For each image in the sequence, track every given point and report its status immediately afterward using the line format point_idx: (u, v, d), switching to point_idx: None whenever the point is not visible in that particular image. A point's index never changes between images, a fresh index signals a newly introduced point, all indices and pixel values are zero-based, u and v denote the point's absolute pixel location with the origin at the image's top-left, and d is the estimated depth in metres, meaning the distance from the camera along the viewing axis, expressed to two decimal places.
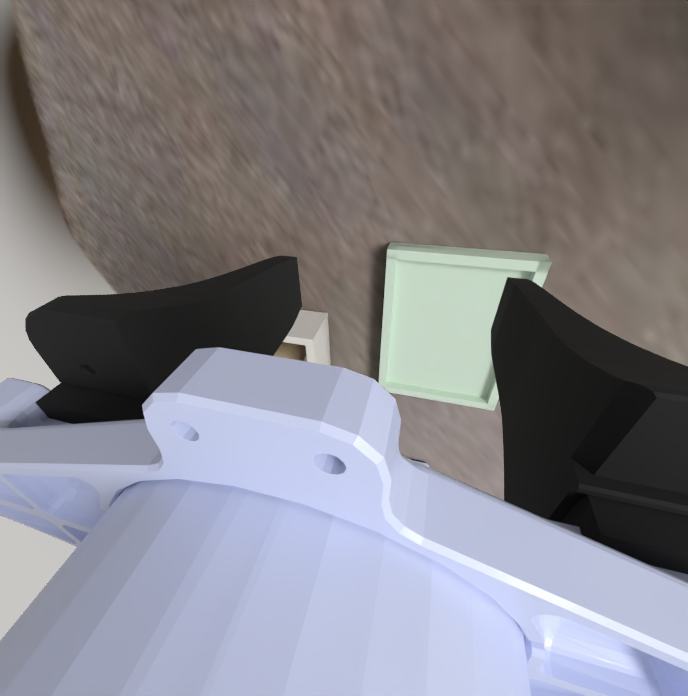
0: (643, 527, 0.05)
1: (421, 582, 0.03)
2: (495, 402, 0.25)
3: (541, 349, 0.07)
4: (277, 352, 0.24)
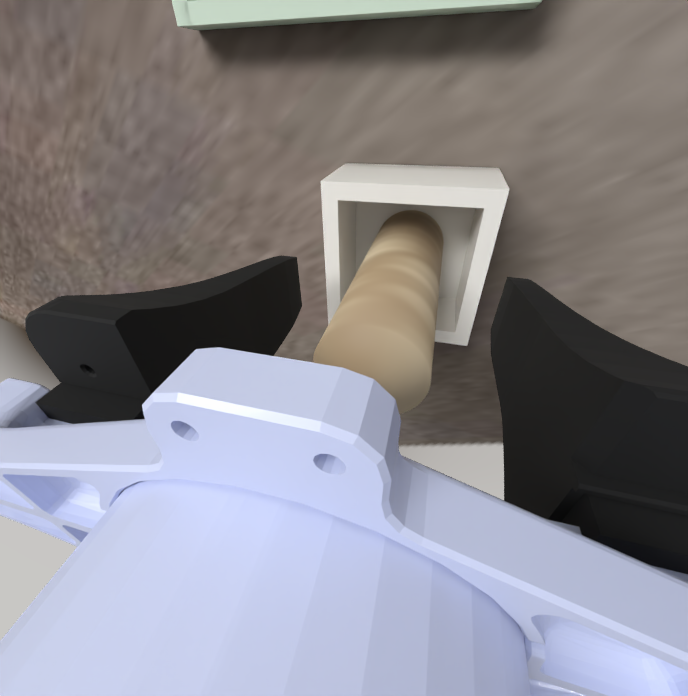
0: (643, 527, 0.05)
1: (421, 582, 0.03)
2: None
3: (541, 349, 0.07)
4: None
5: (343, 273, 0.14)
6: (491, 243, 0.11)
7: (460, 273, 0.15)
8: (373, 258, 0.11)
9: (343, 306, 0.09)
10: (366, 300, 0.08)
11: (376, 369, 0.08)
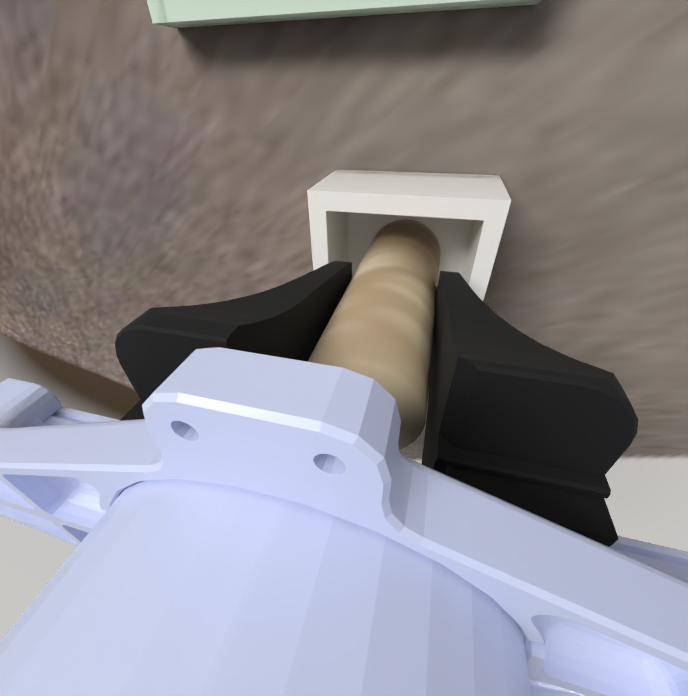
0: (488, 492, 0.05)
1: (421, 582, 0.03)
2: None
3: (444, 336, 0.08)
4: None
5: None
6: (491, 257, 0.11)
7: None
8: (363, 275, 0.10)
9: (328, 332, 0.08)
10: (353, 326, 0.08)
11: None
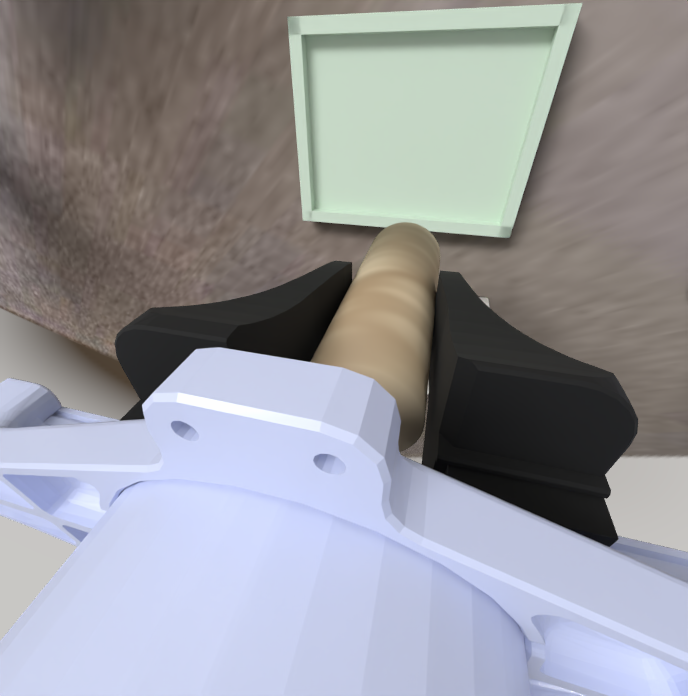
0: (488, 492, 0.05)
1: (421, 582, 0.03)
2: (556, 8, 0.13)
3: (444, 336, 0.08)
4: None
5: None
6: None
7: None
8: (362, 279, 0.10)
9: (327, 337, 0.08)
10: (350, 331, 0.08)
11: None
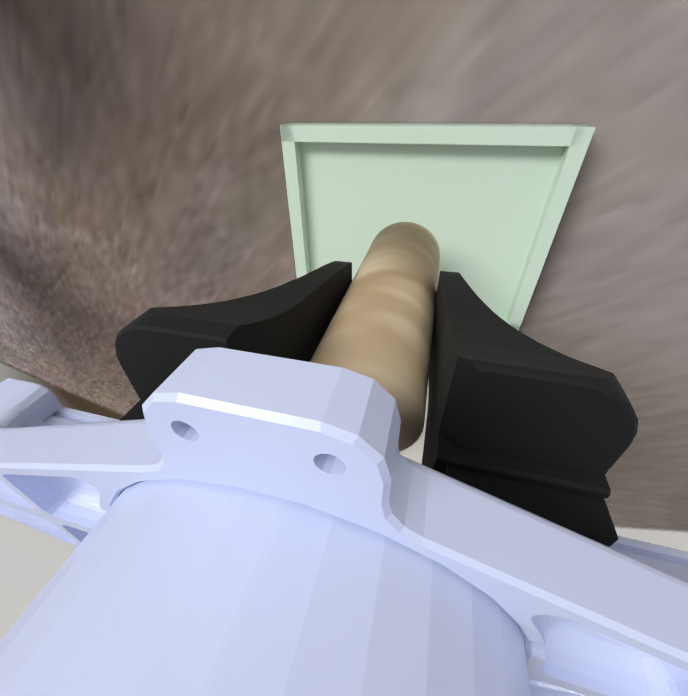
0: (488, 492, 0.05)
1: (421, 582, 0.03)
2: (567, 130, 0.12)
3: (444, 336, 0.08)
4: None
5: None
6: None
7: None
8: (361, 279, 0.10)
9: (326, 337, 0.08)
10: (350, 331, 0.08)
11: None
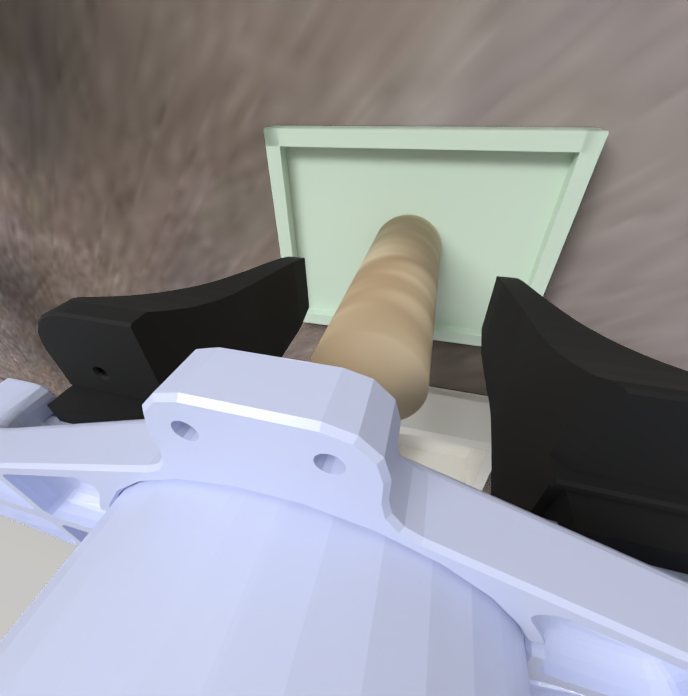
0: (618, 521, 0.05)
1: (421, 582, 0.03)
2: (577, 134, 0.11)
3: (526, 347, 0.07)
4: None
5: None
6: None
7: (469, 447, 0.22)
8: (369, 264, 0.11)
9: (338, 313, 0.09)
10: (360, 306, 0.08)
11: (373, 376, 0.08)
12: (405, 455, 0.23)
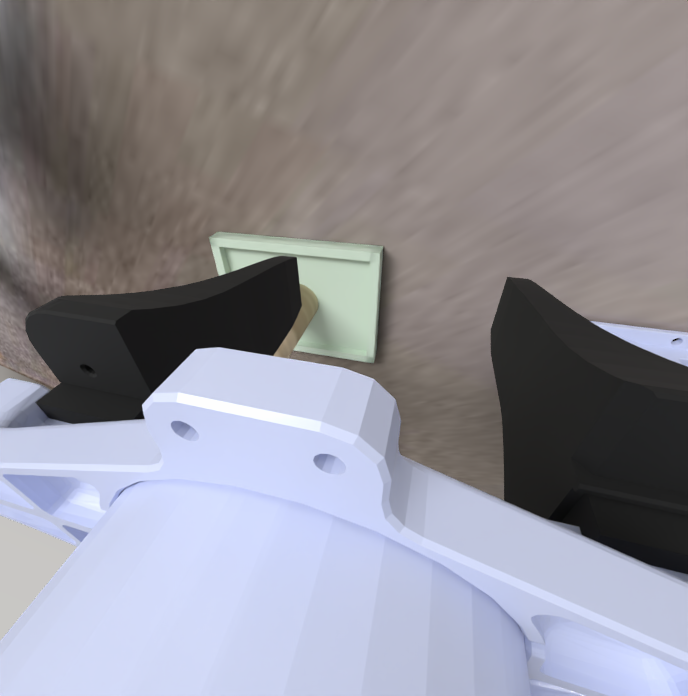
0: (643, 527, 0.05)
1: (421, 582, 0.03)
2: (366, 253, 0.21)
3: (541, 349, 0.07)
4: None
5: None
6: None
7: None
8: None
9: None
10: None
11: None
12: None
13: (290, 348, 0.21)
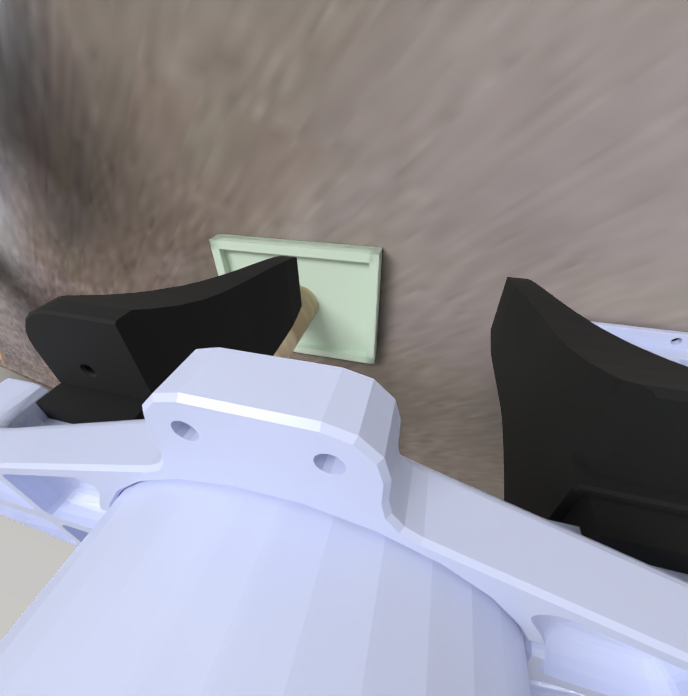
0: (643, 527, 0.05)
1: (421, 582, 0.03)
2: (365, 255, 0.21)
3: (541, 349, 0.07)
4: None
5: None
6: None
7: None
8: None
9: None
10: None
11: None
12: None
13: (290, 349, 0.21)
